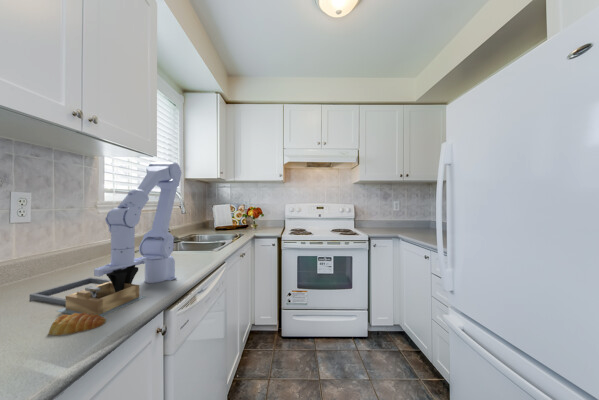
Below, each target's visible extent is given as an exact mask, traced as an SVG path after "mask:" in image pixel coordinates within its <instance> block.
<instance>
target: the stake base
mask: <svg viewBox="0 0 599 400" xmlns="http://www.w3.org/2000/svg"><path fill="white" fill-rule="evenodd" d="M109 295H110V294H109ZM107 296H108V295H107ZM104 297H105V296H104ZM146 297H147V296H146V295H140V294H139V297H138V298H136V299H133V300H131V301H129V302H127V303H124V304H122V305H120V306H118V307H115V308H113V309H111V310H109V311H106V312H104V313H102V314H100V315H99V316H101V317H103V316H106V315H108V314H110V313H112V312H115V311H117V310H119V309H121V308H124V307H126V306H128V305H130V304H132V303H135V302H137V301H139V300H140V301H141V300H143V299H144V298H146ZM101 298H103V297H101ZM99 299H100V298H99ZM56 312H58V313H65V314H67V315H72V314H74V313H79V314H80V313H83V312H77V311H72V310H67V309H66V306H65V307H63V308H60V309H58V310H56ZM87 314H88V313H87Z"/></svg>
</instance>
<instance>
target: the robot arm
mask: <svg viewBox="0 0 599 400" xmlns="http://www.w3.org/2000/svg"><path fill="white" fill-rule="evenodd" d="M181 177H182V170H181V167H180V165H179V163H177V162H176V161H175V162H155V161H153V162H152V161H151V162H150V163H149V164H148V166H147V167H146V174H145V176H144V177H143V179H142V181H141V182H140V184H139V185H138V187H137V188H136V189H135V188H134V189H131V190H129V191H128V192H127V195H126V196H125V197H124V199H122V200H121V202H120V203H119V205H118V206H117V207H114V208H111V210H109V211H108V212H107V214H106V217H105V218H104V220H105V224H107V226H108V232H109V233H110V262H109V263H108V264H105V265H102V266H100V267H96V268H94V269H93V276H94V277H97V278H99V277H103V276H104V275H106V277H107V279H108V280H111V282H112V284H113V286H114V289H115V293H116V292H118V291H121V290H124V283H128V284H133V281H134V279H135V276H136V275H137V273H138V272H139V267H137V266H139V265H144V282H145V283H147V284H154V283H160V282H165V281H166V280H167V281H172V280H176V279H177V276H176V275H175V274H176V271H175V270H176V260H175V258H174V256H173V255H172V253H173V252H174V249H175V248H174V246H175V245H174V240H175V236H173V234H172V233H170V232H169V228H170V224H171V223H170V222H171V219H172V213H173V209H174V205H175V204H174V203H175V201H176V200H175V199H176V194H177V190H178V187H179V186H180V183H181ZM156 186H157V187H158V188H160V193H159V197H158V201H157V206H156V210H155V213H154V217H153V221H152V226H151V229H150V230H149V231H147V232H146V233H145V234H144V235H143V238H142V240H141V242H140V244H138V245H139V246H138V252H139V255H141V256H140V257H135V251H136V250H135V248H136V247H135V245H136V243H135V237H136V235H135V232H136V229H135V227H136V226H137V225H138V224H139V223H140V220H141V214H142V210H143V208H145V206H146V204H147V203H148V202H149V199H150V197H149V194H150V193H151V191H153V189H154V188H155V187H156Z"/></svg>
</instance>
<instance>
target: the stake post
mask: <svg viewBox="0 0 599 400" xmlns="http://www.w3.org/2000/svg"><path fill="white" fill-rule="evenodd" d="M84 290H85V291H89V292H91V298H97V292H98V291H101V288H98V287H94V286H86V287H85V288H84Z"/></svg>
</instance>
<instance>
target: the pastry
mask: <svg viewBox="0 0 599 400" xmlns="http://www.w3.org/2000/svg"><path fill="white" fill-rule="evenodd" d="M106 321H107V319H106V318H105V317H103V316H99V315H94V314H87V313H80V314H79V313H74V314H62V315H60V316H58V317H56V319H55V320H54V321H53V323H52V324H51V326H50V327H49V331H48V333H47V334H48V335H49V336H62V335H69V334H70V335H71V334H74V333H80V332H85V331H88V330H89V331H90V330H93V329H96V328H99V327H101V326H103V325H105V323H106Z"/></svg>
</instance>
